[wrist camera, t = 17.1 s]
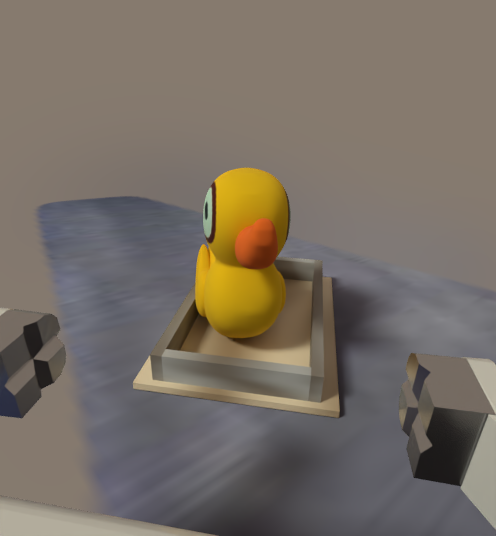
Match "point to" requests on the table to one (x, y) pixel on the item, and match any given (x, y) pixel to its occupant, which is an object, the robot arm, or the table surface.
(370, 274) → the table surface
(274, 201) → the duckling
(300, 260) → the shallow wooden tray
